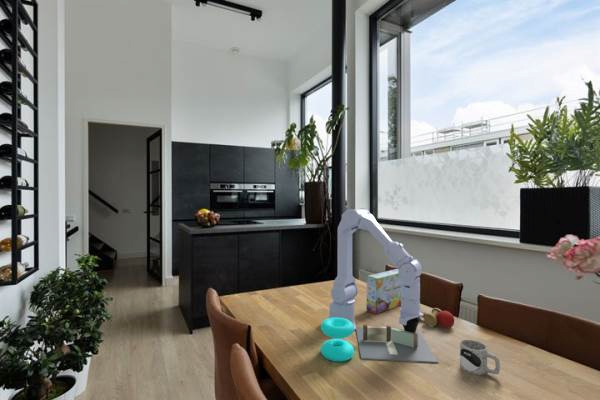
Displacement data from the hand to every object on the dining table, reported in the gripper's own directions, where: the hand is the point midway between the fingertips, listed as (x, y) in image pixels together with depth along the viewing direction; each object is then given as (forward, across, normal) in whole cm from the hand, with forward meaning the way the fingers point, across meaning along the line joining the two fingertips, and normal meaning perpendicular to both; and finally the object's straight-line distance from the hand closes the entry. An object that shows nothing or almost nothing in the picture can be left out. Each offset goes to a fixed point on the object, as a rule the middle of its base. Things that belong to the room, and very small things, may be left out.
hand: (410, 339), depth 103 cm
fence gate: (+1, -2, +1) cm, 2 cm away
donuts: (+2, -20, +16) cm, 25 cm away
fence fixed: (+2, -4, +10) cm, 11 cm away
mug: (+2, -3, -20) cm, 21 cm away
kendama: (+2, +23, 0) cm, 23 cm away
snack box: (+2, +29, +20) cm, 35 cm away
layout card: (+2, -2, +5) cm, 6 cm away
